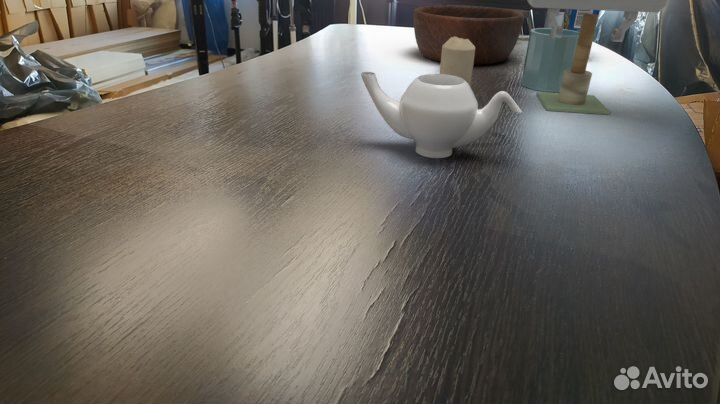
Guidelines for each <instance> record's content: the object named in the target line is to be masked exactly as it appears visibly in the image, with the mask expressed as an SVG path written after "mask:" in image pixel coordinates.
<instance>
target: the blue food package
mask: <svg viewBox="0 0 720 404" xmlns="http://www.w3.org/2000/svg"><path fill="white" fill-rule="evenodd" d="M600 11H601V10H581V9H564V11H563V17H562V22H561V27H563V29H567V30H573V31H578V32H580V28H581V23H582V19H583V15H584V14H596V15H598V17H599V15H600ZM598 20H599V18H598V19H597V21H598ZM597 24H598V23H597ZM597 24H596V26H597ZM596 28H597V27H596ZM596 28H595V30H596ZM595 33H596V31H595V32H594V34H595ZM594 38H595V36H594V37H593V39H594ZM593 42H594V40H593V41H592V43H593ZM592 46H593V44H592V45H591V47H592ZM591 50H592V48H591V49H590V52H591ZM590 54H591V53H590ZM590 54H589V56H590ZM589 58H590V57H589ZM589 58H588V60H590V59H589Z"/></svg>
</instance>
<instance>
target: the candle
mask: <svg viewBox="0 0 720 404" xmlns="http://www.w3.org/2000/svg"><path fill="white" fill-rule="evenodd" d="M474 55H475V46H474V45H473V44H472V43H471V42H470V41H469V39H463V38H458V37H456V36H455V37H451V38H450V39H449V40H448V41H447V42H446V43H445V44H444V45H443V46H442V55H441V61H440V65H439V74H446V75H453V76H457V77H460V78H462V79H464V80H465V81H466V82H467V83H468V84H469V85H470V87H471V88H472V77H473V71H474V70H473V69H474V65H473V63H474Z"/></svg>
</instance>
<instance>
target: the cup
mask: <svg viewBox="0 0 720 404" xmlns="http://www.w3.org/2000/svg"><path fill="white" fill-rule="evenodd" d="M551 29H552V27H537V28H532V29H530V30H529V35H528V41H527V47H526V53H525V59H524V64H523V70H522V76H521V86H523V87H525V88H527V89H529V90H530V89H531V90H534V91H537V92H547V93H559V92H560V87H561V82H562V78H563V73H564V70H566V69H572V64H573V60H574V55H575V51H576V46H577V42H578V37H579V32H578V31H573V30H567V29H563V32H562V33H561V34H562V37H561V39H552V38H550V34H551Z"/></svg>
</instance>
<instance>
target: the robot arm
mask: <svg viewBox="0 0 720 404" xmlns="http://www.w3.org/2000/svg"><path fill="white" fill-rule="evenodd" d="M526 1H527V3H528V5H529V6H530V7H532V8H534V9H535V8H536V9H547V13H546V16H547V18H548V22H549V23H550V26H551V28H552V29H551V34H550V38H552V39H561V37H562V34H561V33H562V32H563V27H561V26H562V25H561V26H560V25H559V24H558V22H557V19H556V17H558V16H559V15H560V11H561V10H565V9H581V10H600V11H609V12H610V11H611V12H623V16H622V17H623V18H624V21H623V22H622V23H621V24H620V25H619V26H618V27H617V28H612V30H611V35H610V41H611V42H615V43H616V42H618V43H619V42H620V43H623V41H624V39H625V34H626V31H628V30H629V29H630V28H631V27H632V25H634V23H635V22H636V21H637V18H638V16H639V13H654V14H655V13H659V12H661V11H662V10H663V9H664V8H665V7H666V6H667V2H668V0H526Z"/></svg>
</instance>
